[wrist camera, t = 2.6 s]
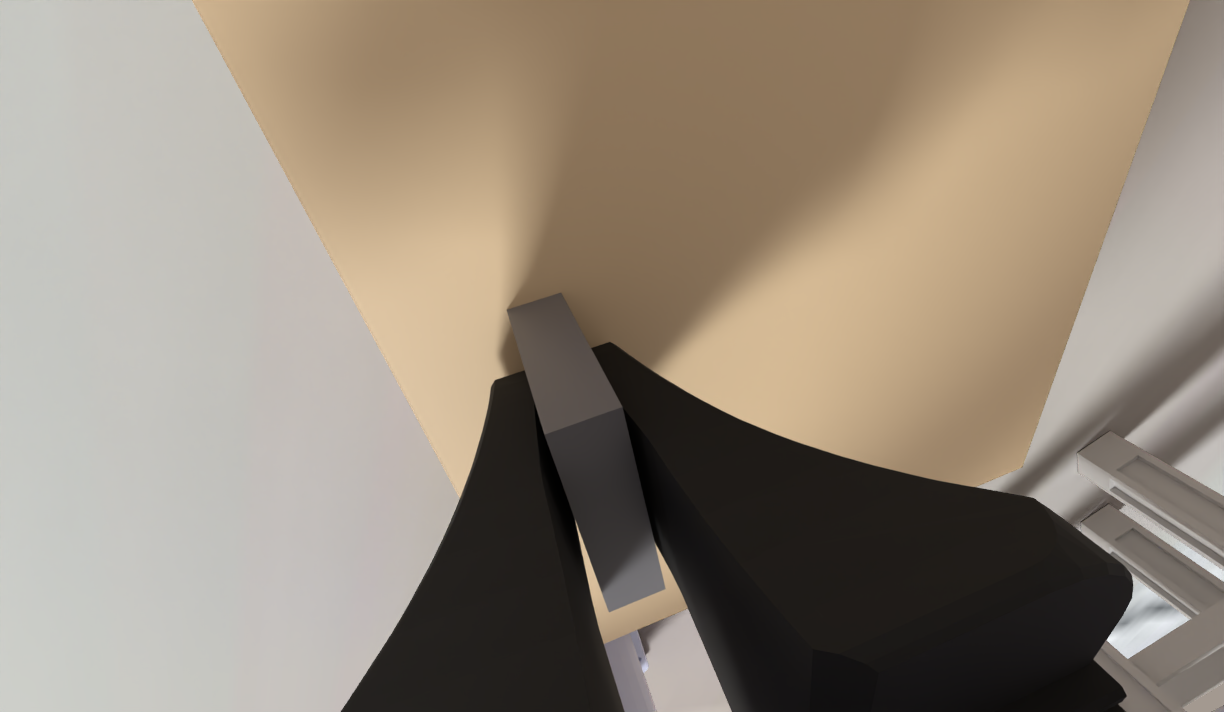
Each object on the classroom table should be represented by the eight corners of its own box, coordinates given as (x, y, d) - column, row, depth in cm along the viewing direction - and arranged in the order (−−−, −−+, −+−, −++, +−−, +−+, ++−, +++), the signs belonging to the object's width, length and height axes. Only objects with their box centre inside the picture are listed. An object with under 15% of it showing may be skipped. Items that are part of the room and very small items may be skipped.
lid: (1006, 455, 18) (1139, 552, 15) (546, 646, 16) (579, 813, 12) (1297, -435, 8) (1981, -800, 4) (71, -260, 5) (-525, -762, 2)
